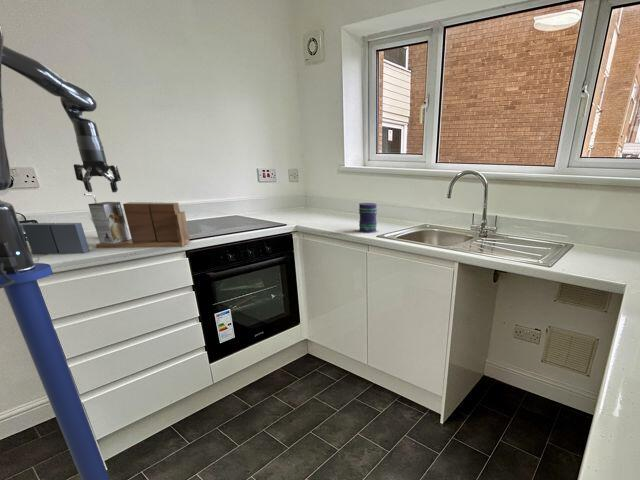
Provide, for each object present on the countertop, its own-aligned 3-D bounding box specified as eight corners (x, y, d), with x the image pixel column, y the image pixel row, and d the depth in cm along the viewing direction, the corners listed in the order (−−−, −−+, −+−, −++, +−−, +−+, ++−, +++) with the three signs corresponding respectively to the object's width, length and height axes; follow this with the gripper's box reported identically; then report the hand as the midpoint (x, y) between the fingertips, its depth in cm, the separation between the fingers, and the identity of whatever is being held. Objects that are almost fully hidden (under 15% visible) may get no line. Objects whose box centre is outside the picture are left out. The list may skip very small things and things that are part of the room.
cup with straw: (121, 236, 165) (109, 192, 158) (99, 240, 157) (86, 193, 150) (109, 234, 168) (98, 191, 161) (88, 238, 160) (74, 192, 153)
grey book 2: (83, 252, 136) (75, 224, 132) (59, 253, 134) (49, 224, 130) (89, 250, 140) (81, 222, 136) (65, 250, 138) (56, 222, 134)
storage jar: (356, 231, 197) (355, 204, 191) (364, 228, 205) (364, 202, 200) (371, 233, 193) (371, 205, 188) (379, 230, 202) (379, 203, 196)
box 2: (180, 241, 153) (173, 204, 147) (157, 242, 151) (149, 203, 145) (185, 238, 158) (178, 202, 152) (162, 239, 156) (154, 202, 150)
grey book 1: (57, 253, 134) (48, 224, 130) (32, 253, 132) (22, 224, 128) (64, 251, 138) (55, 222, 134) (39, 251, 136) (29, 223, 132)
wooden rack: (183, 246, 152) (176, 214, 147) (96, 247, 144) (86, 214, 139) (190, 241, 161) (184, 211, 156) (109, 242, 153) (100, 211, 148)
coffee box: (116, 239, 154) (105, 201, 148) (130, 239, 154) (121, 201, 148) (99, 243, 145) (87, 203, 139) (114, 243, 145) (103, 204, 139)
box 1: (156, 242, 151) (147, 203, 145) (132, 242, 148) (122, 203, 143) (161, 239, 156) (153, 202, 150) (138, 239, 154) (129, 202, 148)
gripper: (63, 147, 131) (76, 192, 137) (107, 149, 135) (118, 193, 140) (75, 148, 138) (87, 191, 144) (117, 150, 141) (127, 191, 147)
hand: (102, 192), depth 142 cm, fingers open, 8 cm apart
